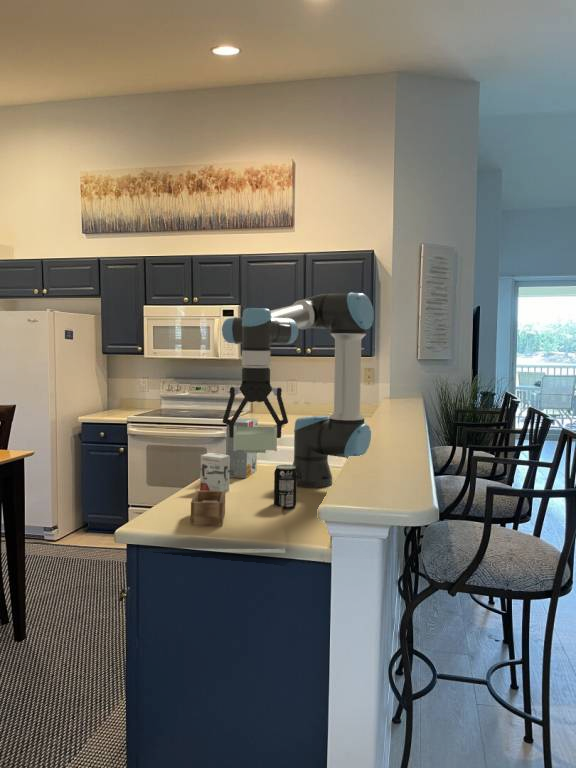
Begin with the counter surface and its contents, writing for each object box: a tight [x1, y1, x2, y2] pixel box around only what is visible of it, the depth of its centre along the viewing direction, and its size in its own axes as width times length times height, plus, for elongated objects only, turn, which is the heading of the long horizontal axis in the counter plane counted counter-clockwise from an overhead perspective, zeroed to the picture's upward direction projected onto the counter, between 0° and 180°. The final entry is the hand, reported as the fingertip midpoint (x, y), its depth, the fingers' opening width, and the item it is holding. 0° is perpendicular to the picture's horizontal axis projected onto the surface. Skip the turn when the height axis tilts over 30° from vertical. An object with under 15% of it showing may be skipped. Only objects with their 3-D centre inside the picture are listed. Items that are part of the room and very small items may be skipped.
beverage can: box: [273, 464, 298, 510], centre depth 183 cm, size 7×7×12 cm
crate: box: [190, 490, 226, 528], centre depth 166 cm, size 8×13×7 cm, turn 3°
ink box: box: [199, 452, 230, 493], centre depth 201 cm, size 9×5×12 cm, turn 62°
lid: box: [235, 426, 274, 454], centre depth 167 cm, size 10×14×5 cm
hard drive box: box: [226, 417, 259, 479], centre depth 228 cm, size 16×8×20 cm, turn 168°
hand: (255, 450), depth 167 cm, fingers closed on lid, 10 cm apart
